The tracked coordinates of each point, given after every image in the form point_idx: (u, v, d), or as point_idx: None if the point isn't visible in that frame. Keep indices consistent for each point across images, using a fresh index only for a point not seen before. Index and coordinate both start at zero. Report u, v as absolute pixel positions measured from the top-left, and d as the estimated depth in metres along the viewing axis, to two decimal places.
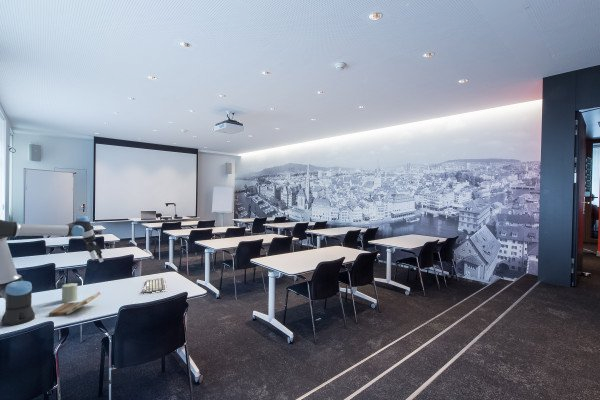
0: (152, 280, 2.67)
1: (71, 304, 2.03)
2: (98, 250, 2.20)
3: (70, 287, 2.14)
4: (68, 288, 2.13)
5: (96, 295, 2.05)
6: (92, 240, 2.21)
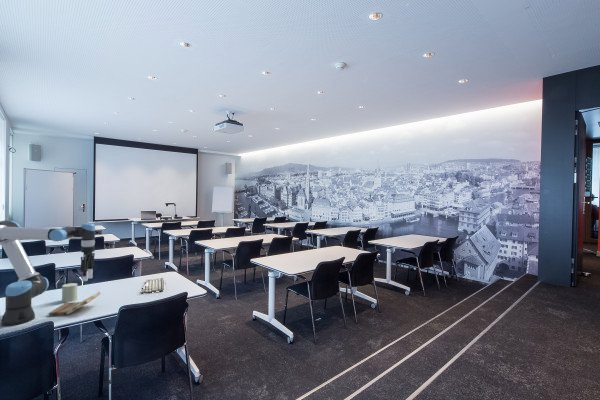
0: (152, 280, 2.67)
1: (71, 304, 2.03)
2: (82, 267, 1.94)
3: (70, 287, 2.14)
4: (68, 288, 2.13)
5: (96, 295, 2.05)
6: (85, 252, 1.97)
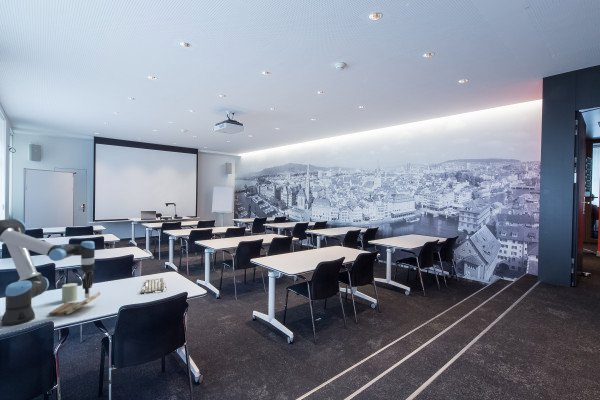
0: (151, 280, 2.66)
1: (71, 304, 2.03)
2: (84, 285, 1.96)
3: (70, 287, 2.14)
4: (68, 288, 2.13)
5: (96, 295, 2.05)
6: (85, 270, 1.97)
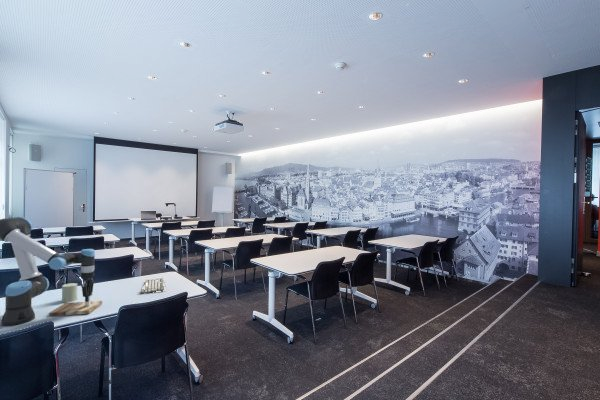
0: (151, 280, 2.66)
1: (71, 304, 2.03)
2: (84, 293, 1.96)
3: (70, 287, 2.14)
4: (68, 288, 2.13)
5: (98, 304, 2.05)
6: (85, 278, 1.97)
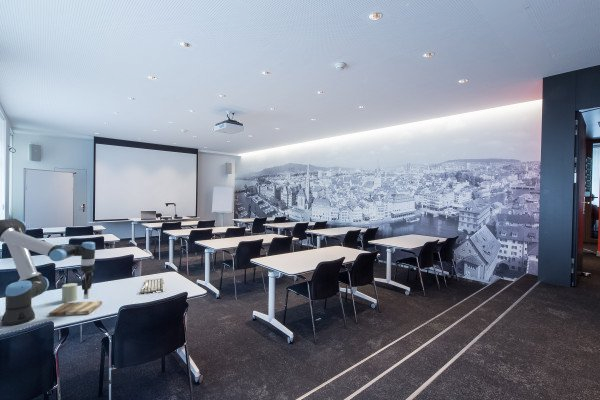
0: (151, 280, 2.66)
1: (71, 304, 2.03)
2: (83, 286, 1.96)
3: (70, 287, 2.14)
4: (68, 288, 2.13)
5: (98, 305, 2.05)
6: (84, 271, 1.97)
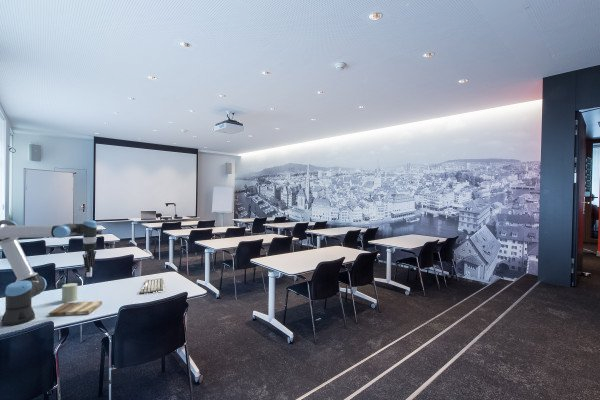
0: (151, 280, 2.66)
1: (71, 304, 2.03)
2: (85, 263, 1.99)
3: (70, 287, 2.14)
4: (68, 288, 2.13)
5: (98, 305, 2.05)
6: (86, 248, 1.99)
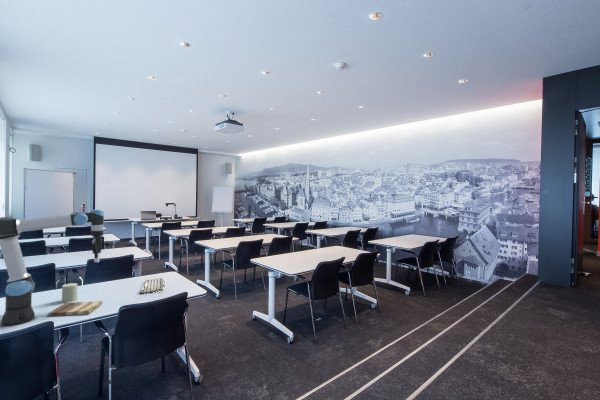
0: (151, 280, 2.66)
1: (71, 304, 2.03)
2: (93, 249, 2.11)
3: (70, 287, 2.14)
4: (68, 288, 2.13)
5: (98, 305, 2.05)
6: (94, 235, 2.12)
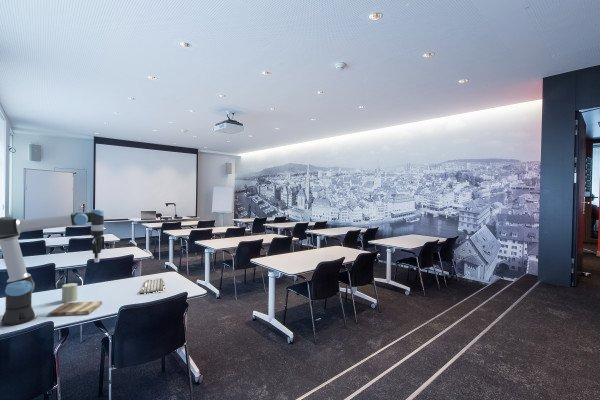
0: (151, 280, 2.66)
1: (71, 304, 2.03)
2: (93, 249, 2.12)
3: (70, 287, 2.14)
4: (68, 288, 2.13)
5: (98, 305, 2.05)
6: (95, 235, 2.12)
